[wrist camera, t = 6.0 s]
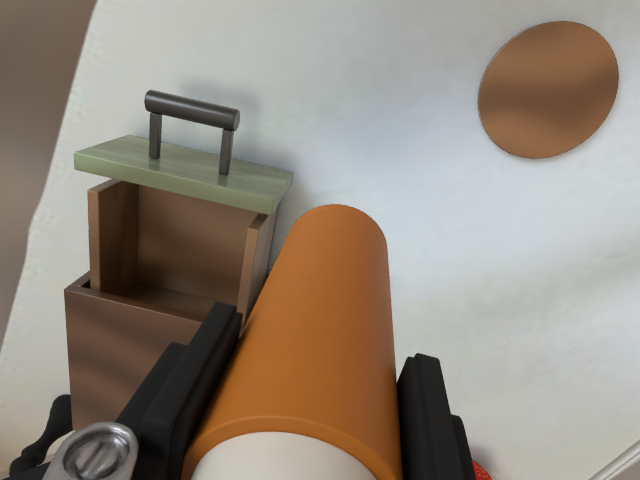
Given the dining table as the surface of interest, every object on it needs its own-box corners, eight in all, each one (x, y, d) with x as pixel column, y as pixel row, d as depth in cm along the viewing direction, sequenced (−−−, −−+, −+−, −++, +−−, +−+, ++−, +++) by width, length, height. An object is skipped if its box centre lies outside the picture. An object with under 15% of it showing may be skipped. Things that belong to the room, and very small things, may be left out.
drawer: (129, 74, 32) (70, 79, 25) (303, 114, 31) (286, 128, 25) (127, 278, 39) (80, 320, 33) (267, 312, 39) (247, 361, 32)
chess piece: (69, 426, 49) (0, 510, 40) (46, 399, 48) (-30, 479, 39) (98, 419, 48) (34, 503, 39) (76, 390, 47) (5, 471, 38)
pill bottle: (270, 221, 18) (76, 540, 6) (369, 190, 17) (359, 506, 5) (307, 305, 20) (205, 690, 8) (399, 282, 18) (445, 686, 7)
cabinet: (126, 241, 38) (63, 289, 31) (281, 278, 38) (257, 336, 30) (125, 364, 44) (72, 430, 37) (259, 397, 44) (234, 470, 36)
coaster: (463, 54, 29) (465, 54, 29) (605, -3, 27) (609, -4, 26) (493, 173, 32) (495, 175, 32) (622, 132, 30) (626, 133, 29)
